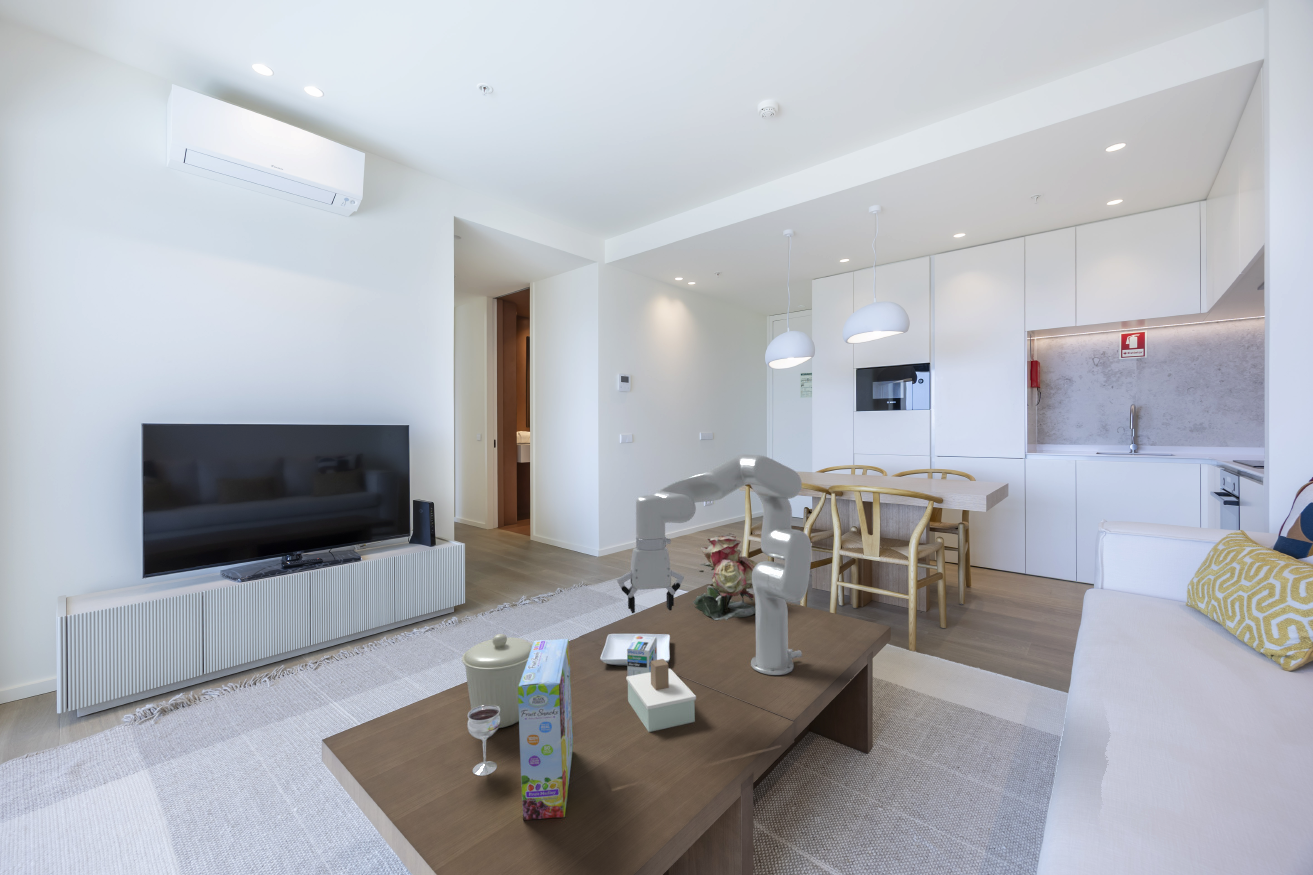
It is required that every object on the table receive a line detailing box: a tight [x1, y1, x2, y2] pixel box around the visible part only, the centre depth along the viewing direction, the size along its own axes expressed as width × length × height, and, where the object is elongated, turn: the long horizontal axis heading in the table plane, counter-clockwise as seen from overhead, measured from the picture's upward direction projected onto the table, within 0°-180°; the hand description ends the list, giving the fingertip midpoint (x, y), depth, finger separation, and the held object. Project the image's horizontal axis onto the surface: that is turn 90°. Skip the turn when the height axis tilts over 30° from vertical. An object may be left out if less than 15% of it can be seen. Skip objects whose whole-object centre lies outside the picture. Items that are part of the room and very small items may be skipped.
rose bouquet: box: [692, 532, 758, 621], centre depth 216 cm, size 26×29×30 cm
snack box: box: [518, 638, 574, 821], centre depth 110 cm, size 22×9×26 cm, turn 5°
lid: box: [625, 659, 697, 710], centre depth 137 cm, size 17×13×7 cm
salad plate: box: [599, 633, 671, 666], centre depth 173 cm, size 21×21×3 cm
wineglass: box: [466, 705, 501, 777], centre depth 115 cm, size 7×7×12 cm
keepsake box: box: [627, 682, 696, 733], centre depth 137 cm, size 16×12×6 cm
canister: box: [461, 633, 533, 729], centre depth 136 cm, size 18×18×21 cm
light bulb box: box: [626, 636, 657, 676], centre depth 156 cm, size 11×7×11 cm, turn 168°
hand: (651, 610), depth 139 cm, fingers open, 9 cm apart
